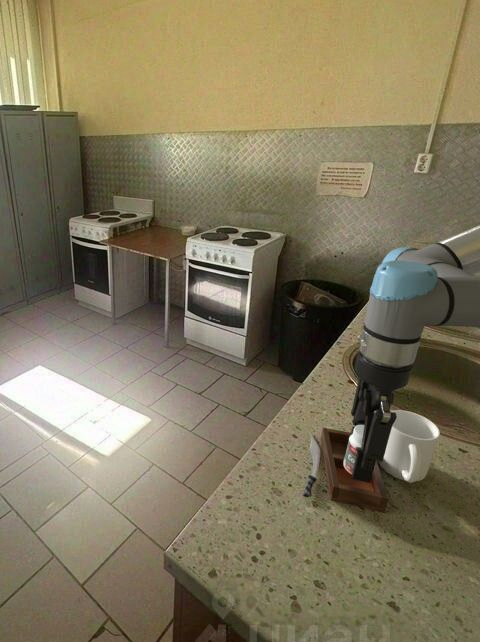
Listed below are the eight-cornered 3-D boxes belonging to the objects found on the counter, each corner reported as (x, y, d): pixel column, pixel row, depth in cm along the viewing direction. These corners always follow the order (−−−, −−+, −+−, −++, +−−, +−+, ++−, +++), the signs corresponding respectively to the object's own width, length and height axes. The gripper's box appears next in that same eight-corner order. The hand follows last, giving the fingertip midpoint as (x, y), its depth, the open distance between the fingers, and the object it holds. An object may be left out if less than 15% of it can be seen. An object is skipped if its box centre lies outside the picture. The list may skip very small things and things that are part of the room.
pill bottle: (341, 472, 71) (349, 435, 68) (344, 455, 75) (352, 419, 72) (372, 483, 69) (382, 446, 66) (374, 466, 72) (383, 429, 69)
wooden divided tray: (365, 448, 82) (368, 435, 81) (385, 513, 68) (389, 499, 67) (320, 439, 85) (322, 427, 84) (330, 500, 71) (333, 486, 70)
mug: (435, 505, 69) (450, 460, 66) (379, 489, 73) (392, 445, 69) (421, 458, 79) (434, 416, 76) (373, 446, 83) (383, 405, 79)
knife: (316, 503, 70) (317, 499, 70) (301, 498, 71) (302, 494, 71) (321, 435, 86) (322, 431, 86) (309, 431, 87) (309, 428, 87)
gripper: (348, 329, 72) (328, 430, 81) (370, 383, 57) (342, 502, 65) (396, 334, 70) (370, 438, 78) (433, 392, 54) (395, 515, 63)
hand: (357, 467), depth 72 cm, fingers closed on pill bottle, 5 cm apart
